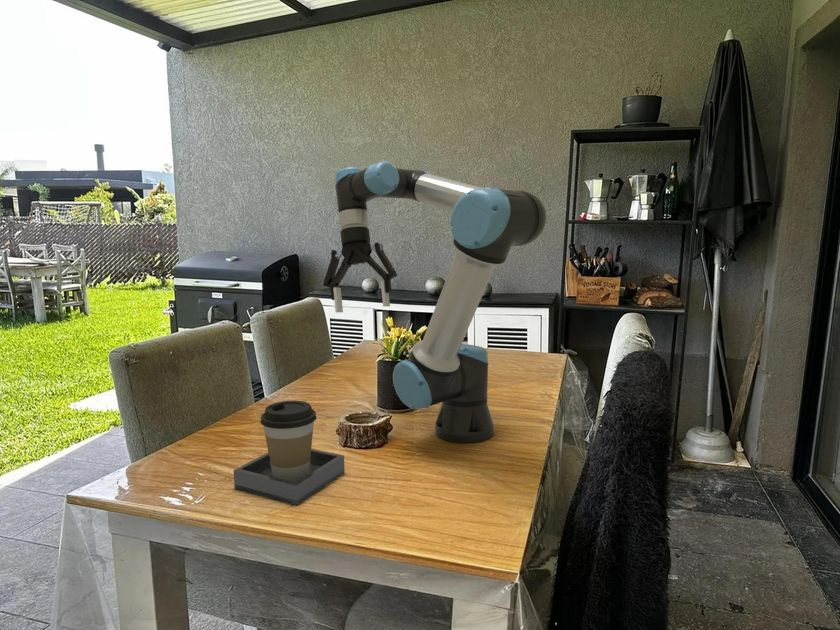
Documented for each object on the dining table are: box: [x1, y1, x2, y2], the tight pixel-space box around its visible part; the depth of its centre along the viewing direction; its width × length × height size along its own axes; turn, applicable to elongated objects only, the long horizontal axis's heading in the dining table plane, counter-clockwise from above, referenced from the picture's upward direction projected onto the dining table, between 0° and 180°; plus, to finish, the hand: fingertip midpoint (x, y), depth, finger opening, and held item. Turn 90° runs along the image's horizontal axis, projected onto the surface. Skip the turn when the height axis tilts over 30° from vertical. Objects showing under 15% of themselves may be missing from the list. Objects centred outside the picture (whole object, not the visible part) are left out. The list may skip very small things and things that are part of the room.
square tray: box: [233, 448, 345, 506], centre depth 117 cm, size 16×16×4 cm
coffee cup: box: [260, 400, 317, 482], centre depth 116 cm, size 11×11×15 cm
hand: (362, 309), depth 144 cm, fingers open, 13 cm apart
